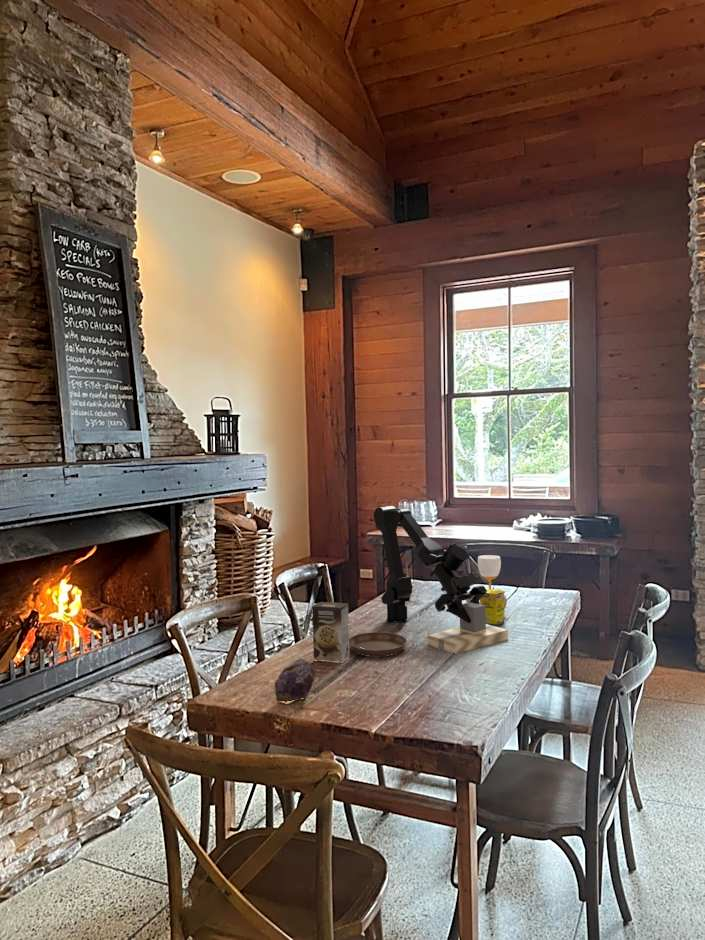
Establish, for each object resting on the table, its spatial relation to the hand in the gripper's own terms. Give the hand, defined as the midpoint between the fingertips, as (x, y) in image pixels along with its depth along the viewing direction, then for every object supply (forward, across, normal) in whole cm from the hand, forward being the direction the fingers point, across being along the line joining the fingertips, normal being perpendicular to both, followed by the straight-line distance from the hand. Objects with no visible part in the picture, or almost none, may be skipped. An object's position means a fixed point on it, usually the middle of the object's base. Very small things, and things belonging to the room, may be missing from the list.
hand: (476, 620), depth 221 cm
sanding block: (+2, 0, +3) cm, 4 cm away
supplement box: (-2, +19, +12) cm, 23 cm away
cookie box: (-8, -42, +17) cm, 46 cm away
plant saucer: (-6, -26, +16) cm, 32 cm away
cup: (-19, +46, +29) cm, 58 cm away
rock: (+5, -67, +4) cm, 67 cm away
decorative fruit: (-6, +27, +16) cm, 32 cm away
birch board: (+4, -2, +6) cm, 7 cm away
